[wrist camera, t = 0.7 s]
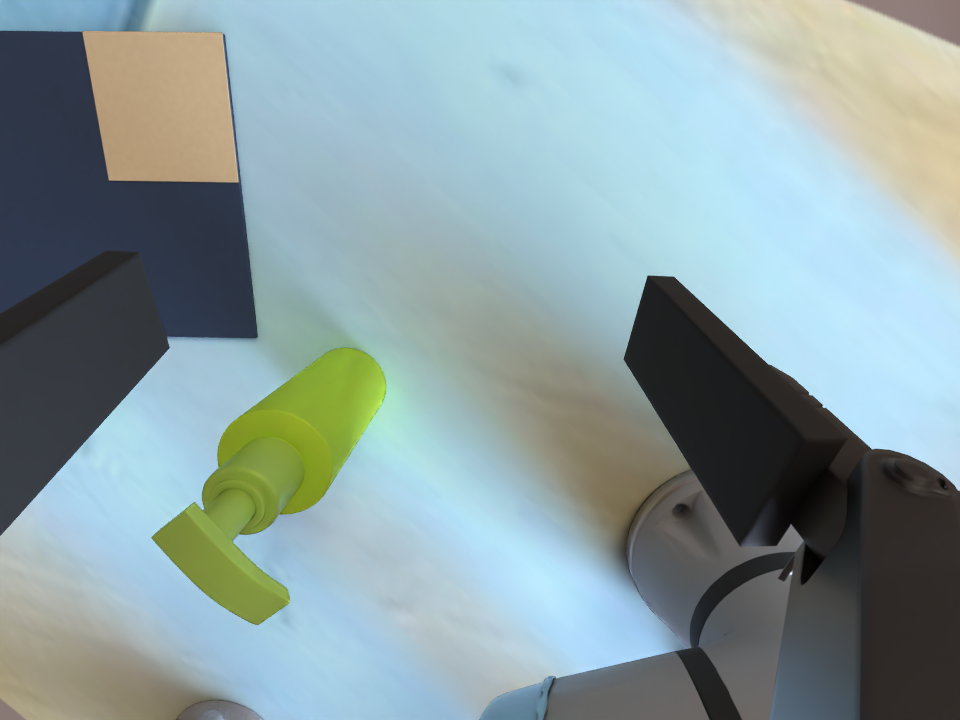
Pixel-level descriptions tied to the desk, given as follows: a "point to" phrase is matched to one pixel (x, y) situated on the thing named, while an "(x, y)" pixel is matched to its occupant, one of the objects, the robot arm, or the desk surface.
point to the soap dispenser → (273, 476)
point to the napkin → (125, 170)
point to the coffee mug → (218, 711)
